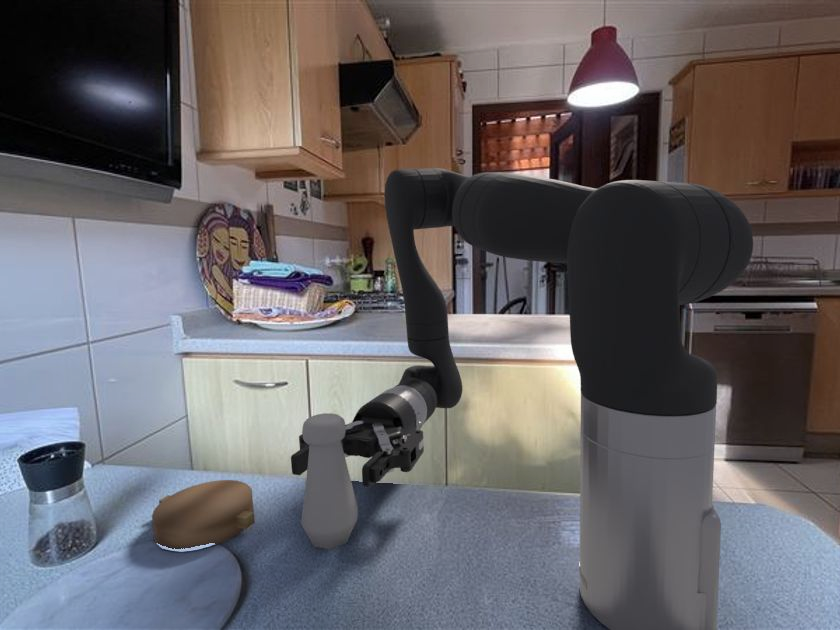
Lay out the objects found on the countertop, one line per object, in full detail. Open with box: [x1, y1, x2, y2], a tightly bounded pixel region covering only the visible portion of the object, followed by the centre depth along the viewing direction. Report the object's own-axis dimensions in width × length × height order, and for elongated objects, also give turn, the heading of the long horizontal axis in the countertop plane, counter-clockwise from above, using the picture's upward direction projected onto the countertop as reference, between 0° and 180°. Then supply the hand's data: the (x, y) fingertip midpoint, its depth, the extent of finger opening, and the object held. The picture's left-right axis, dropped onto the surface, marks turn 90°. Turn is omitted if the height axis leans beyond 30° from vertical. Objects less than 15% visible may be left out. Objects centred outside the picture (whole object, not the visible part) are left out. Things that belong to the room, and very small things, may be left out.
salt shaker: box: [300, 412, 359, 551], centre depth 45 cm, size 6×6×13 cm
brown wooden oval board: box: [151, 479, 256, 549], centre depth 49 cm, size 13×10×2 cm
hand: (328, 472), depth 45 cm, fingers open, 8 cm apart
